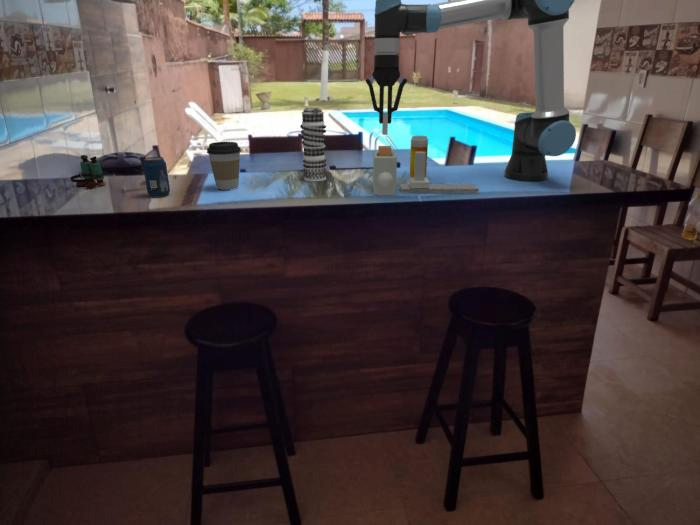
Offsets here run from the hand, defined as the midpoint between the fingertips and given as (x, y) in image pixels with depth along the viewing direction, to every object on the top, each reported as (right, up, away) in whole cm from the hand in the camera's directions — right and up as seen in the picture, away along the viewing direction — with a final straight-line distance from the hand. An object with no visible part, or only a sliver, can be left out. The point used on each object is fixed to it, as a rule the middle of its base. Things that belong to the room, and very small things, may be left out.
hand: (384, 134), depth 159 cm
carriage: (+12, -16, +6) cm, 20 cm away
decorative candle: (-24, -10, +25) cm, 36 cm away
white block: (0, -17, +7) cm, 19 cm away
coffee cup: (-53, -16, +12) cm, 57 cm away
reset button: (0, -8, +3) cm, 9 cm away
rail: (+18, -17, +7) cm, 26 cm away
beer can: (+14, -10, +25) cm, 31 cm away
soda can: (-73, -19, +3) cm, 76 cm away
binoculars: (-102, -15, +15) cm, 104 cm away
